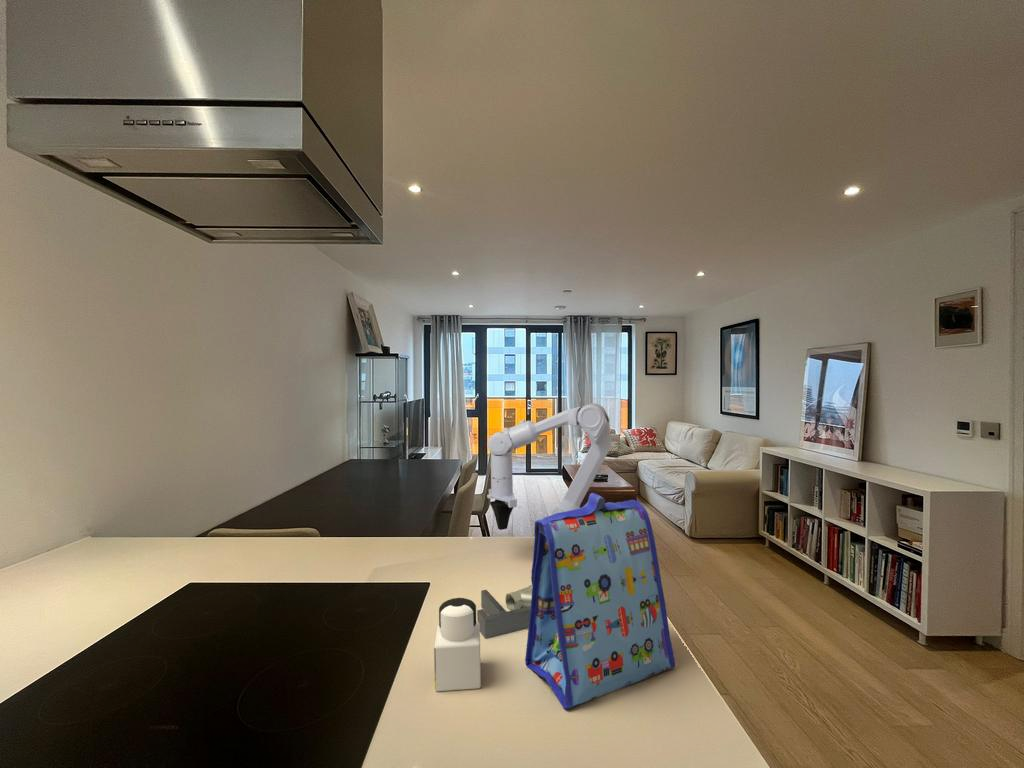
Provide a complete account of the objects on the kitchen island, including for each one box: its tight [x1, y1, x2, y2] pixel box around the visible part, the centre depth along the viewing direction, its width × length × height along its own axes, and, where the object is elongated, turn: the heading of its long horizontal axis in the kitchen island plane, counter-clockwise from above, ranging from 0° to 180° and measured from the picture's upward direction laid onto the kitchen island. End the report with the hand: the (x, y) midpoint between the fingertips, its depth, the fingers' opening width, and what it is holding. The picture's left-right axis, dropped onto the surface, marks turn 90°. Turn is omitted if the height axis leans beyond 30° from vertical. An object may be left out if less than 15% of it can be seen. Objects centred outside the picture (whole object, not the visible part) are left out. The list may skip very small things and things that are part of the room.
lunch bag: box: [524, 492, 676, 710], centre depth 77 cm, size 22×14×29 cm, turn 117°
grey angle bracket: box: [476, 589, 531, 640], centre depth 97 cm, size 22×12×4 cm, turn 114°
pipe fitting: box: [505, 584, 533, 611], centre depth 99 cm, size 8×4×7 cm
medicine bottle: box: [433, 597, 482, 692], centre depth 75 cm, size 7×7×12 cm
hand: (502, 528), depth 122 cm, fingers closed
